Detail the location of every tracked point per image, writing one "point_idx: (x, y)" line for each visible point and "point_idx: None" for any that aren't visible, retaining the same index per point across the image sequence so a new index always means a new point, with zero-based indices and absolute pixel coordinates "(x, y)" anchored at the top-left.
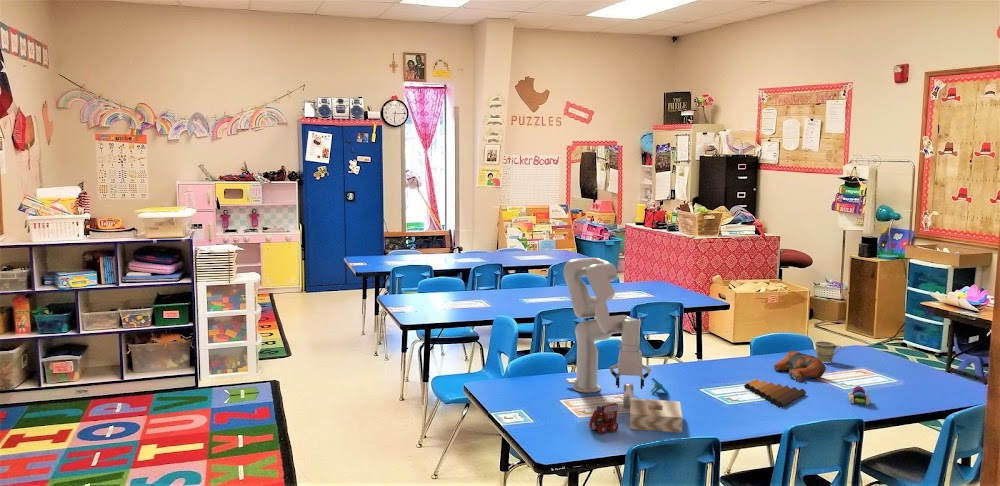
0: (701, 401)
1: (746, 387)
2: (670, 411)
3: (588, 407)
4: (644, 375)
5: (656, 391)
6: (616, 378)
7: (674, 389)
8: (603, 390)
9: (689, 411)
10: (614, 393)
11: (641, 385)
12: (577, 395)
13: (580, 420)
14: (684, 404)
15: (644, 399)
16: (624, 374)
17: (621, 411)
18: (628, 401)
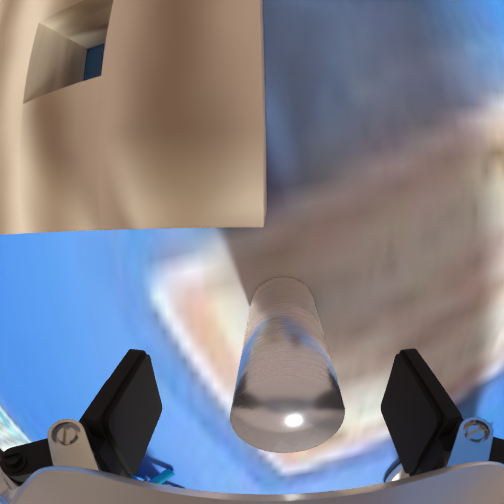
0: (17, 396)
1: (1, 453)
2: (12, 31)
3: (494, 249)
4: (44, 466)
5: (154, 477)
6: (470, 419)
7: None
8: (375, 476)
9: (5, 291)
10: (336, 466)
11: (123, 371)
12: (489, 396)
13: (499, 49)
14: (39, 372)
15: (128, 215)
16: (413, 485)
17: (326, 213)
18: (281, 296)
